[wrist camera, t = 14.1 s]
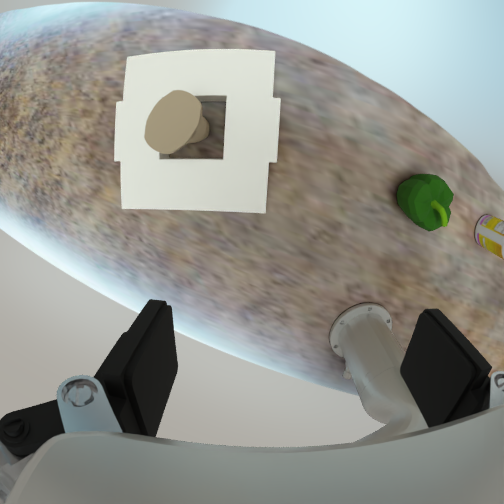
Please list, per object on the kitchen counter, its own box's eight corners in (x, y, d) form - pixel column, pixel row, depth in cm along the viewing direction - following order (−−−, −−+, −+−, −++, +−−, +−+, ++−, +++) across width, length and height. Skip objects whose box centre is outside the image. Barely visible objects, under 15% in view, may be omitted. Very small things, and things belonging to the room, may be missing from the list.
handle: (174, 140, 39) (135, 138, 25) (197, 104, 37) (169, 82, 23) (201, 157, 40) (174, 162, 26) (225, 120, 38) (211, 104, 24)
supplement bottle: (487, 248, 45) (526, 272, 33) (469, 241, 44) (511, 266, 32) (496, 218, 42) (538, 238, 30) (479, 209, 42) (523, 228, 30)
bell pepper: (391, 166, 40) (425, 173, 31) (431, 173, 40) (467, 182, 31) (386, 218, 43) (416, 236, 33) (425, 221, 43) (458, 239, 34)
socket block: (270, 206, 42) (273, 213, 38) (129, 201, 42) (115, 208, 37) (279, 62, 35) (282, 51, 30) (134, 66, 34) (121, 58, 30)
